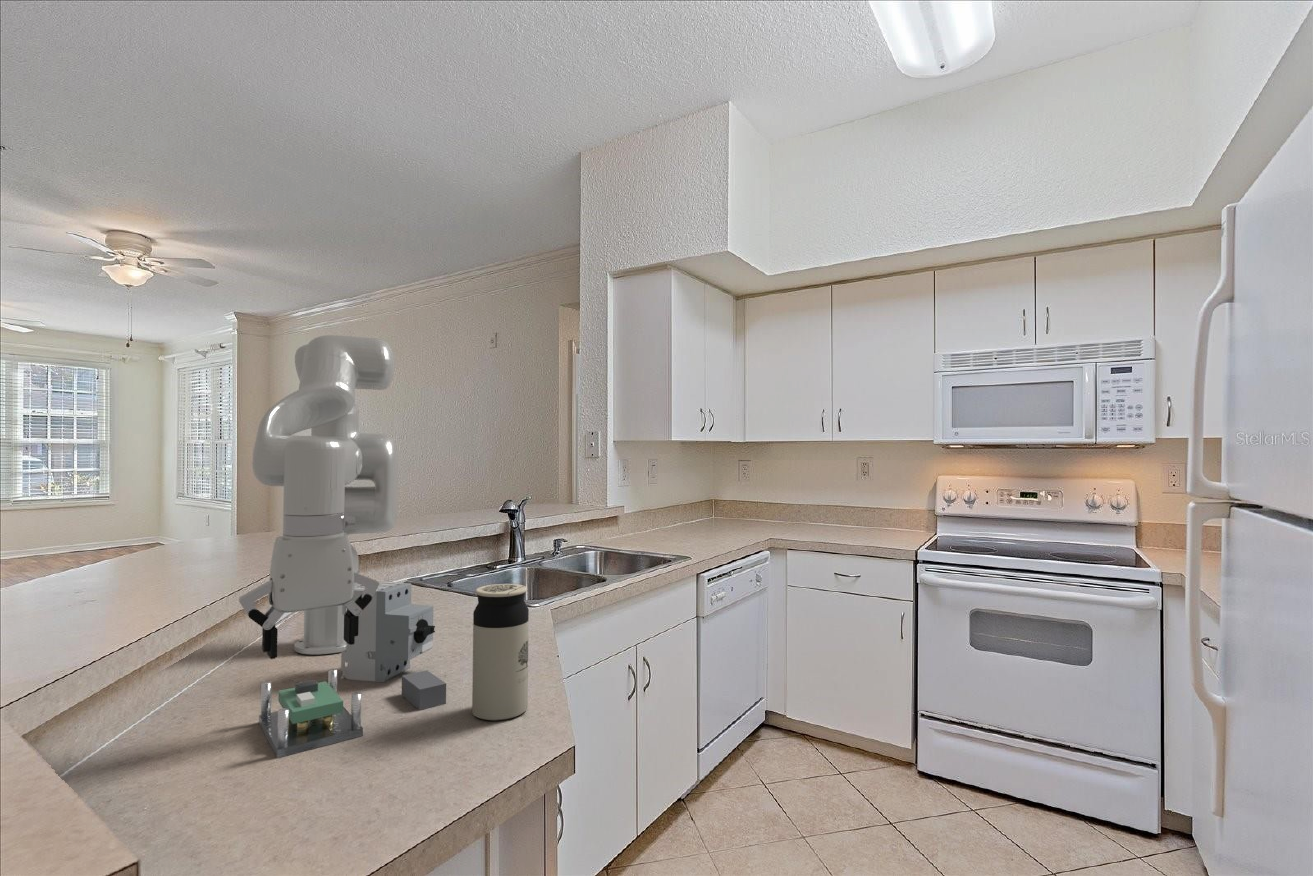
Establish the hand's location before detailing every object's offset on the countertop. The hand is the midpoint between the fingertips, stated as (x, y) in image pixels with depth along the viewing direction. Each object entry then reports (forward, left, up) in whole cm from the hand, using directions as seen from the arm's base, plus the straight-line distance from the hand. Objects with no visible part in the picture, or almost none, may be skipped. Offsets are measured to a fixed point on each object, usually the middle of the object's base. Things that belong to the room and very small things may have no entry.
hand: (311, 649), depth 88 cm
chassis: (+1, 0, -11) cm, 11 cm away
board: (+1, 0, -8) cm, 8 cm away
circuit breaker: (-15, +16, -11) cm, 24 cm away
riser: (0, +16, -11) cm, 19 cm away
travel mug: (+12, +23, -11) cm, 28 cm away
